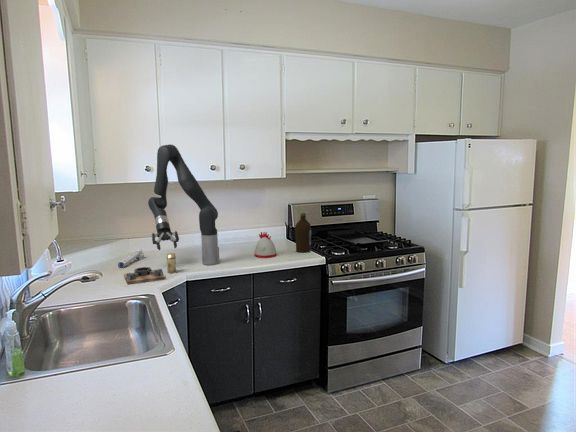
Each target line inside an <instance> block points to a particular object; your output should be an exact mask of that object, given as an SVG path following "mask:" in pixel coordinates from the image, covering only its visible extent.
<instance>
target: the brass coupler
mask: <svg viewBox="0 0 576 432" xmlns="http://www.w3.org/2000/svg"><path fill="white" fill-rule="evenodd" d="M176 256H177V255H176V253H174V252H173V253H172V252H171V253H170V252H169V253H167V254H166V264H167V265H166V267H167V273H168V274H175V272H176V273H177V261H176V258H177V257H176Z"/></svg>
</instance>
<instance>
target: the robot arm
mask: <svg viewBox="0 0 576 432" xmlns="http://www.w3.org/2000/svg"><path fill="white" fill-rule="evenodd" d="M156 154H157V155H156V177H155V183H154V187H153V192H154V194H155V195H157V196H160V197H157V196H152V197H150V198H149V199H148V202H147V203H148V204H147V205H148V208H149V210H150V211H151V213H152V214H153V217H154V224H155V225H154V226H155V229H156V233H155V232H152V233H151V239H152V241H151V242H152V244H153V245H156V249H157V250H158V251H160V250H161V244H160V243H161V242H164V241H170V242H172V243H173V248H174V249H177V247H178V242H180V241H179V240H180V237H179V234H178V231H177V230H175V231H174V232H172V230H171V226H170V222H169V218H168V215H167V212H166V208H167V207H168V202H167V189H168V185H169V177H168V165H169V163H170V164H172V166H173V167H174V169H175V171H176V176H177V181H178V183H179V185H180V187H181V188H182V190H183V191H184V192H185V194H186V196H187V197H189V198H190V199H191V200H192V201H193V202H195V204H196V205H197V207H198V208H199V210H200V211H199V212H198V213H199V214H198V221H199V231H200V238H201V259H202V260H201V261H202V265H204V266H213V265H218V264H220V263H221V262H220V261H221V260H220V247H219V243H218V242H219V241H218V229H217V228H216V227H217V226H216V220H217V219H218V217H219V213H218V210H217V208H216V207H215V206H214V204H213V203H212V202H211V201H210V199H209V198H208V197H207V195H206V193H205V192H204V190H203V189H202V187H201V185H200V184H199V183H198V180H197V179H196V178H195V176H194V175H193V173H192V172H191V170H190V169H189V167H188V166H187V164H186V161H185V160H184V159H183V156H182V154H181V152H180V151H179V149H178V148H177V147H176V146H175V145H174V144H172V143H171V144H163V145H161V146H160V147H158V149H157V152H156ZM156 238H157V240H156Z"/></svg>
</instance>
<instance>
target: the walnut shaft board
mask: <svg viewBox="0 0 576 432" xmlns="http://www.w3.org/2000/svg"><path fill="white" fill-rule="evenodd" d="M155 270H156V269H151V271H155ZM123 278H124V280H125V282H126V284H127V286H128V285H135V284H143V283H149V282H156V281H164V280H166V276H165V275H164V274H163V275H162V276H155V275H146V276H139V277H136V279H134V280H127V273H123Z"/></svg>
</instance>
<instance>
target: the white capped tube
mask: <svg viewBox="0 0 576 432" xmlns="http://www.w3.org/2000/svg"><path fill="white" fill-rule="evenodd" d="M144 256H145V253H144V252H143V250H142V249H141V248H138V249H135V252H133V253H131V254H130V255H129V256H126V257H124V259H121V260H120V261H119V262H118V263H117V267H118V269H124V268H126V267H127V266H128V265H129V264H130V263H132V262H133V261H134V260H136V261H140V260H144V258H145V257H144Z"/></svg>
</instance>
